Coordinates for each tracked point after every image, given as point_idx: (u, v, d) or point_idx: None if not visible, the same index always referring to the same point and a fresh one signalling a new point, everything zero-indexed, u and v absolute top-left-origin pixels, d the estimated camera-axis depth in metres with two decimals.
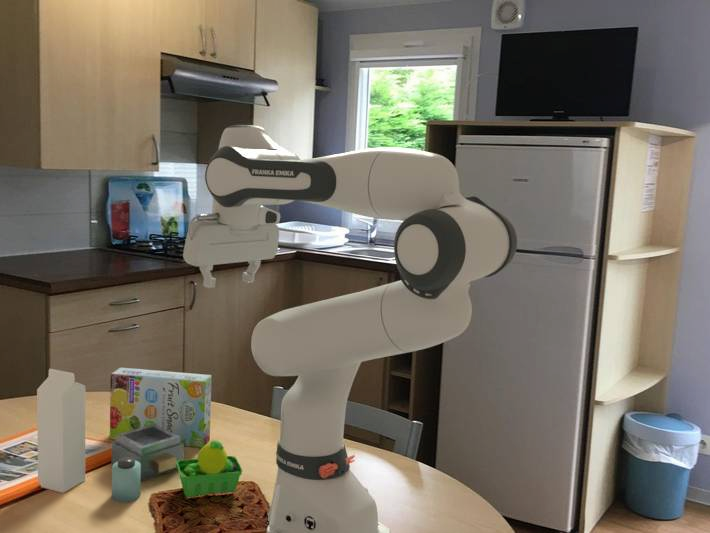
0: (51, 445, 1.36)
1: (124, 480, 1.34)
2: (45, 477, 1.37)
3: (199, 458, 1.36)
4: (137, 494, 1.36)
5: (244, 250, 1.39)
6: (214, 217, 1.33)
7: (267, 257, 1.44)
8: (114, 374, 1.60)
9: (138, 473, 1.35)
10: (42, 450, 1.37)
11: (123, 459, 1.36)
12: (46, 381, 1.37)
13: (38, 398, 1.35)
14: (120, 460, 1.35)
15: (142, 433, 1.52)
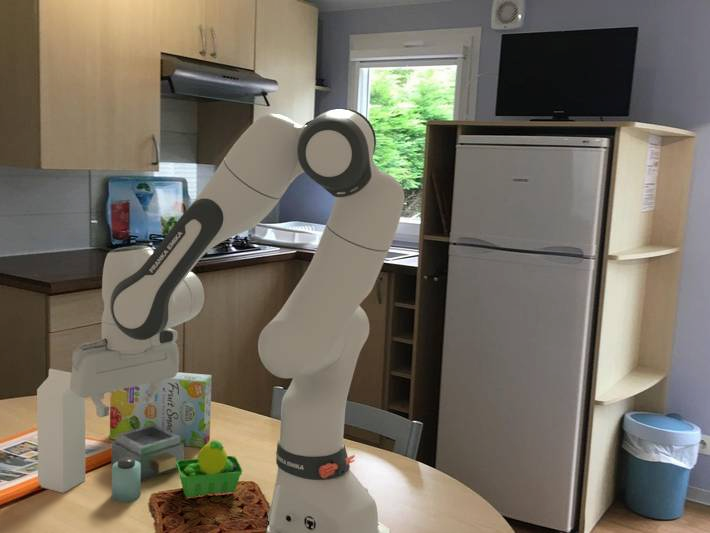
0: (51, 445, 1.36)
1: (124, 480, 1.34)
2: (45, 477, 1.37)
3: (199, 458, 1.36)
4: (137, 494, 1.36)
5: (138, 373, 1.33)
6: (101, 344, 1.28)
7: (167, 376, 1.38)
8: None
9: (138, 473, 1.35)
10: (42, 450, 1.37)
11: (123, 459, 1.36)
12: (46, 381, 1.37)
13: (38, 398, 1.35)
14: (120, 460, 1.35)
15: (142, 433, 1.52)
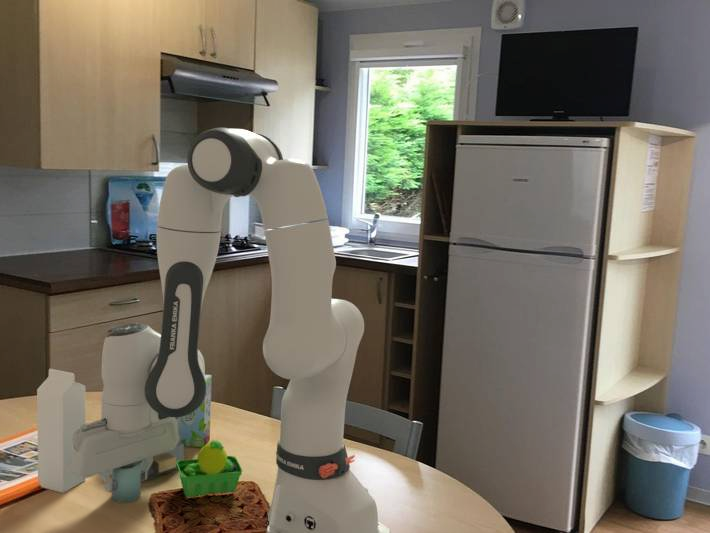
0: (51, 445, 1.36)
1: (124, 480, 1.34)
2: (45, 477, 1.37)
3: (199, 458, 1.36)
4: (137, 494, 1.36)
5: (138, 450, 1.35)
6: (101, 424, 1.30)
7: (166, 450, 1.40)
8: None
9: (138, 473, 1.35)
10: (42, 450, 1.37)
11: None
12: (46, 381, 1.37)
13: (38, 398, 1.36)
14: None
15: None
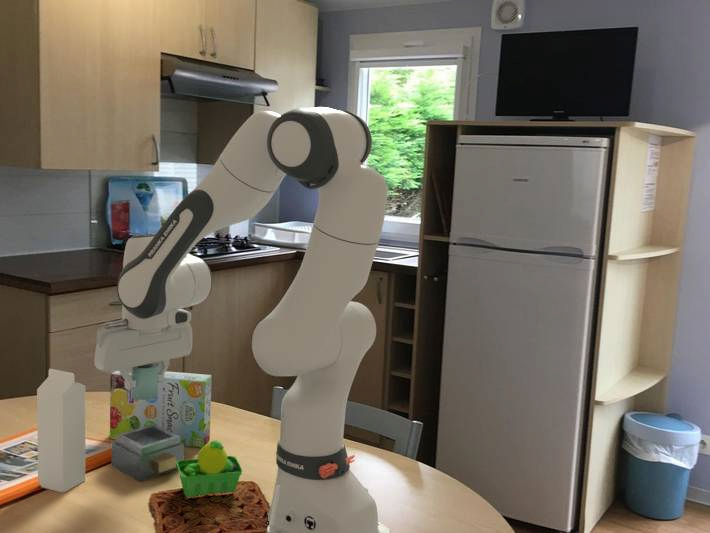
0: (50, 445, 1.36)
1: (142, 379, 1.42)
2: (45, 477, 1.37)
3: (199, 458, 1.36)
4: (155, 393, 1.45)
5: (156, 351, 1.44)
6: (122, 323, 1.39)
7: (182, 355, 1.49)
8: (114, 374, 1.60)
9: (156, 373, 1.44)
10: (42, 450, 1.37)
11: None
12: (46, 381, 1.37)
13: (38, 398, 1.35)
14: None
15: (142, 433, 1.52)
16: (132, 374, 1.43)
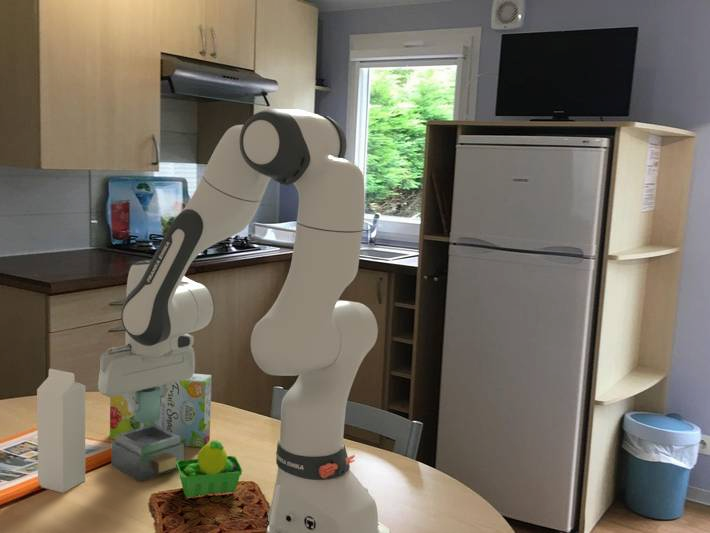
0: (51, 445, 1.36)
1: (145, 402, 1.45)
2: (45, 477, 1.37)
3: (199, 458, 1.36)
4: (157, 416, 1.47)
5: (159, 375, 1.46)
6: (126, 348, 1.41)
7: (184, 378, 1.51)
8: None
9: (158, 396, 1.47)
10: (42, 450, 1.37)
11: None
12: (46, 381, 1.37)
13: (38, 398, 1.36)
14: None
15: (142, 433, 1.52)
16: (135, 397, 1.46)
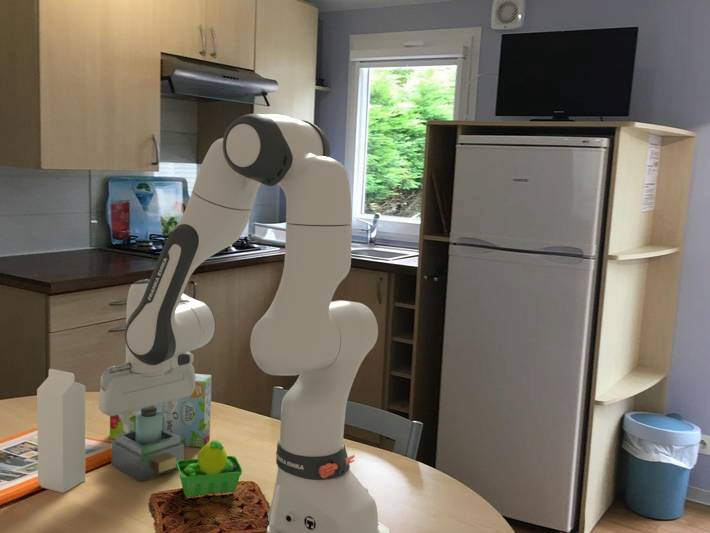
0: (50, 445, 1.36)
1: (147, 427, 1.46)
2: (45, 477, 1.37)
3: (199, 458, 1.36)
4: (159, 440, 1.48)
5: (159, 393, 1.47)
6: (126, 367, 1.41)
7: (185, 395, 1.52)
8: None
9: (159, 421, 1.47)
10: (42, 450, 1.37)
11: (146, 408, 1.48)
12: (46, 381, 1.37)
13: (38, 398, 1.35)
14: (143, 409, 1.47)
15: None
16: (136, 423, 1.46)
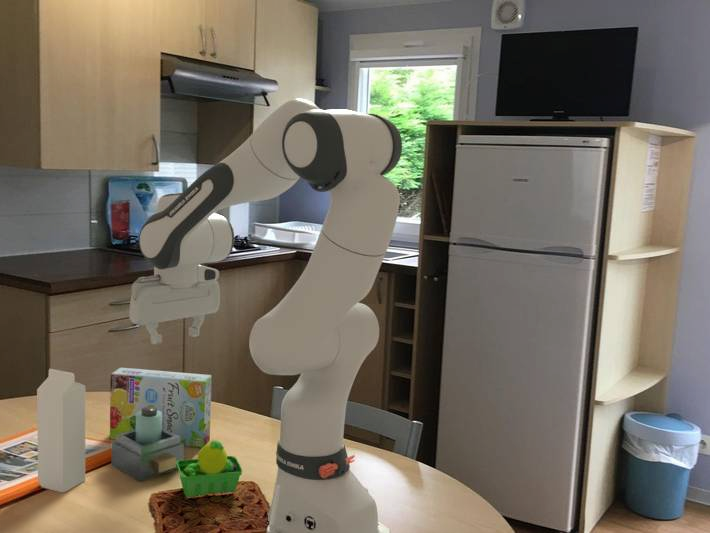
0: (50, 445, 1.36)
1: (147, 427, 1.46)
2: (45, 477, 1.37)
3: (199, 458, 1.36)
4: (159, 440, 1.48)
5: (186, 307, 1.51)
6: (155, 279, 1.45)
7: (210, 311, 1.56)
8: (114, 374, 1.60)
9: (160, 421, 1.47)
10: (42, 450, 1.37)
11: (146, 408, 1.48)
12: (46, 381, 1.37)
13: (38, 398, 1.36)
14: (143, 409, 1.47)
15: None
16: (137, 422, 1.46)
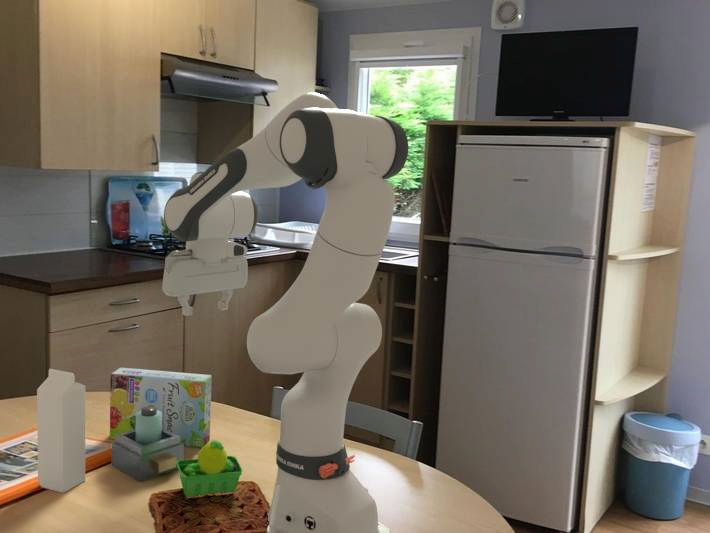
0: (50, 445, 1.36)
1: (146, 427, 1.46)
2: (45, 477, 1.37)
3: (199, 458, 1.36)
4: (158, 440, 1.48)
5: (216, 281, 1.57)
6: (187, 253, 1.52)
7: (238, 286, 1.63)
8: (114, 374, 1.60)
9: (159, 421, 1.47)
10: (42, 450, 1.37)
11: (146, 408, 1.48)
12: (46, 381, 1.37)
13: (38, 398, 1.36)
14: (143, 409, 1.47)
15: None
16: (136, 422, 1.46)
